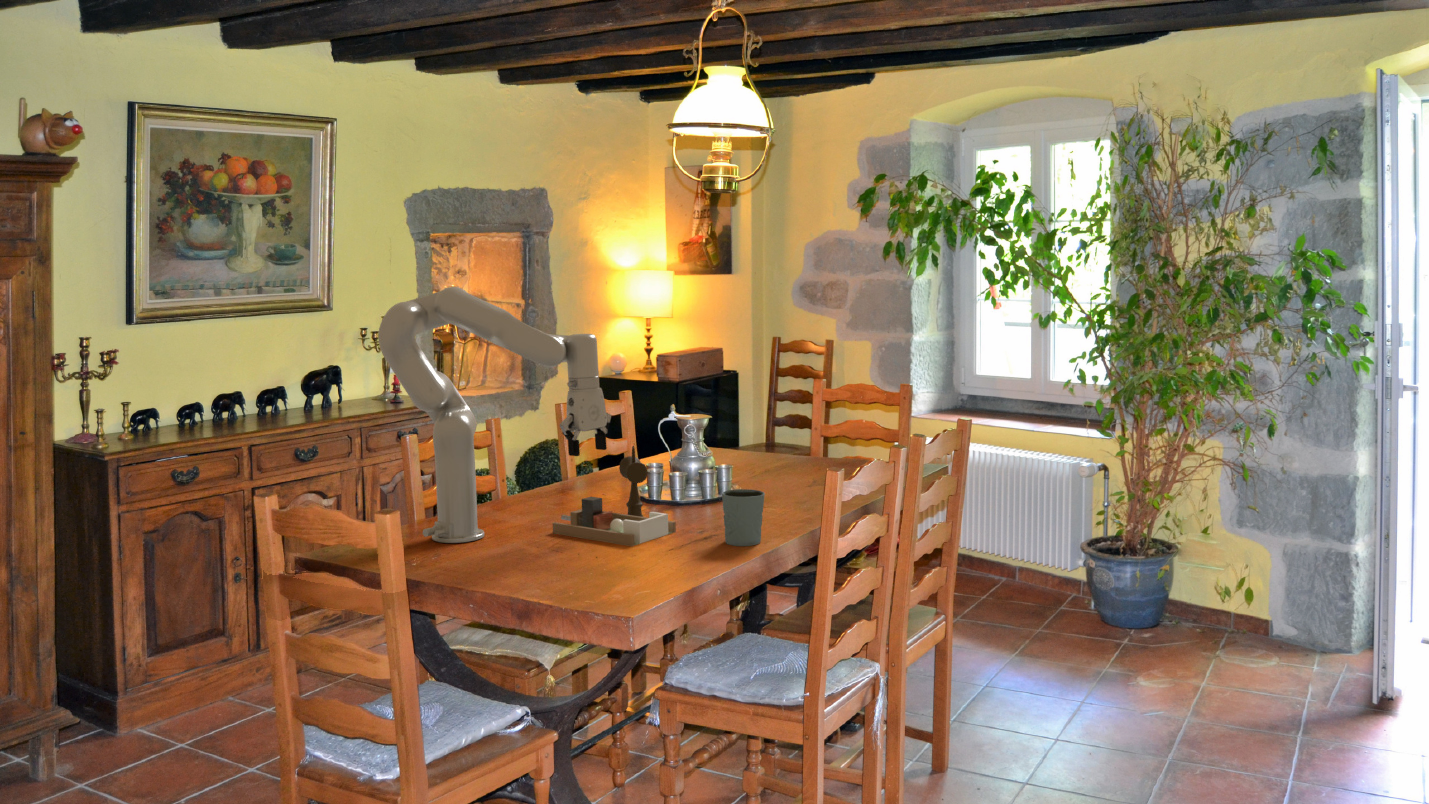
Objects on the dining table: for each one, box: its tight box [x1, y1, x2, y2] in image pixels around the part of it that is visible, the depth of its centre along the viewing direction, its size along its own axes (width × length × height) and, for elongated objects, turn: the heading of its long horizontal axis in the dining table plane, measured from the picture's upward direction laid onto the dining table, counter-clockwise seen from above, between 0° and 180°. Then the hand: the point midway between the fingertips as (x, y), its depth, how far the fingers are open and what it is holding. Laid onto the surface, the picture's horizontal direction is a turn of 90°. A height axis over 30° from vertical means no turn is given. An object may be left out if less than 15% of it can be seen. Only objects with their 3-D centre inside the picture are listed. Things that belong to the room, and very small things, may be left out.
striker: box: [560, 496, 613, 530], centre depth 286 cm, size 6×14×7 cm, turn 55°
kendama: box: [618, 445, 649, 517], centre depth 297 cm, size 6×10×20 cm, turn 16°
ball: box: [610, 519, 623, 532], centre depth 280 cm, size 4×4×4 cm
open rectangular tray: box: [552, 508, 677, 547], centre depth 281 cm, size 17×25×6 cm
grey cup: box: [721, 488, 765, 547], centre depth 274 cm, size 10×10×12 cm
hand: (587, 452), depth 285 cm, fingers open, 9 cm apart
